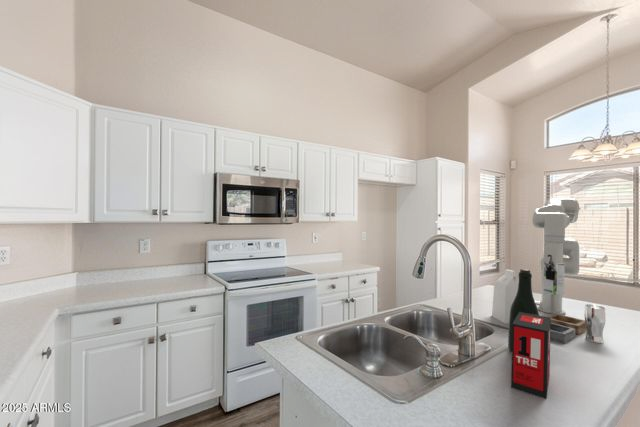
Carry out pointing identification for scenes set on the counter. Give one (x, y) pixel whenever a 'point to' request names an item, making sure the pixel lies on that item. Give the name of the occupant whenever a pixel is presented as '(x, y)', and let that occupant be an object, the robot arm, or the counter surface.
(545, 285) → the syrup box
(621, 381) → the counter surface
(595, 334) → the beer glass
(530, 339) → the cleaning product box
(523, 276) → the dark green wine bottle
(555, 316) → the walnut holder
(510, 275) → the milk
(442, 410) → the counter surface
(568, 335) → the gray square frame
